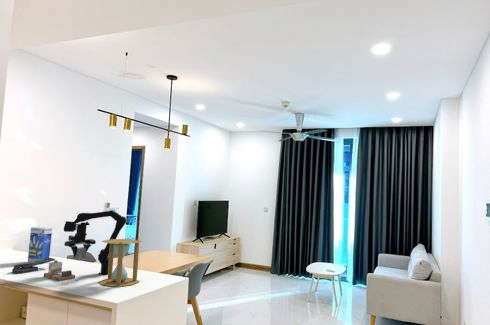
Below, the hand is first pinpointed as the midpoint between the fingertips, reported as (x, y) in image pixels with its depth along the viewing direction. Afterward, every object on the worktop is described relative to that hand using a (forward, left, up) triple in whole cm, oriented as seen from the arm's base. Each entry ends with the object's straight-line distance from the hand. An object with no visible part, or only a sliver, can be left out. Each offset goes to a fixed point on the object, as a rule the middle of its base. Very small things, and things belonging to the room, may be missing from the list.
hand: (79, 256), depth 232 cm
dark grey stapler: (+30, +14, -12) cm, 35 cm away
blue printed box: (+54, -1, -12) cm, 55 cm away
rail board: (-1, +13, -12) cm, 17 cm away
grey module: (0, 0, -1) cm, 1 cm away
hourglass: (-37, -4, -12) cm, 39 cm away
